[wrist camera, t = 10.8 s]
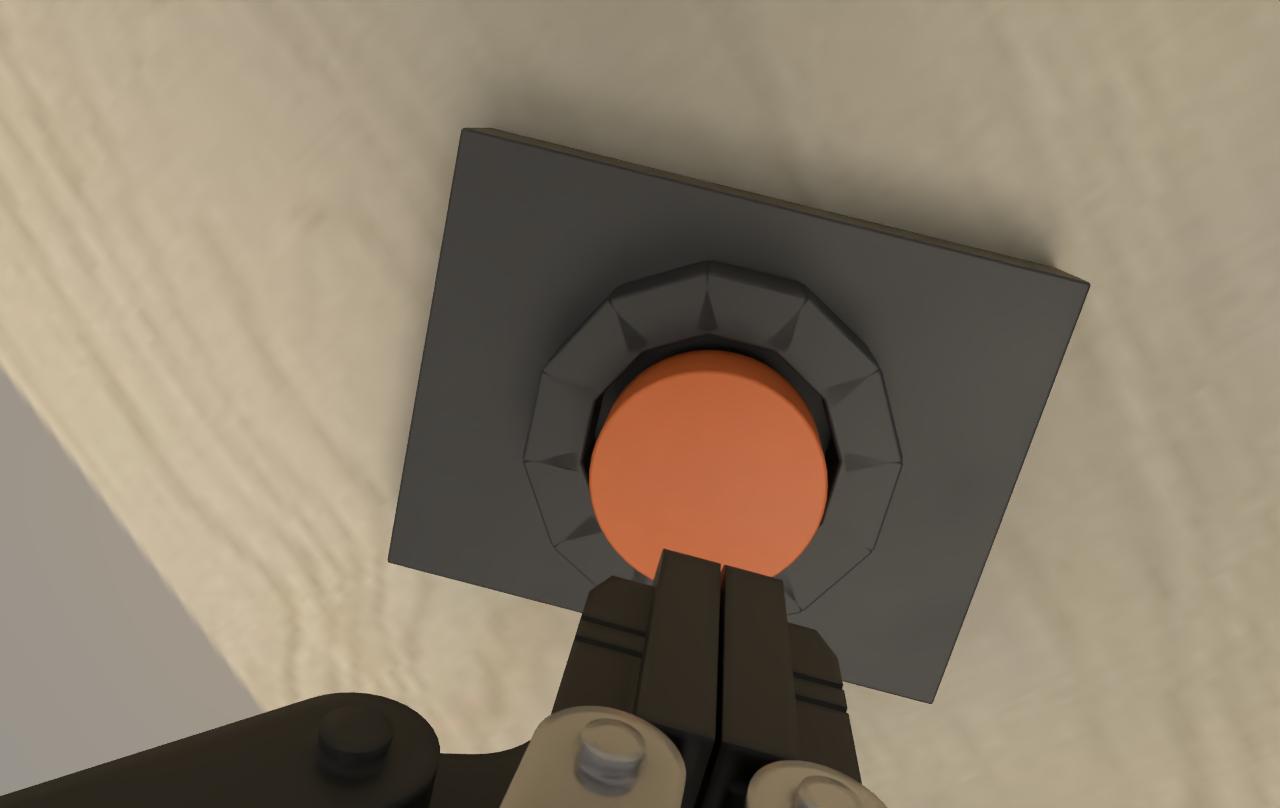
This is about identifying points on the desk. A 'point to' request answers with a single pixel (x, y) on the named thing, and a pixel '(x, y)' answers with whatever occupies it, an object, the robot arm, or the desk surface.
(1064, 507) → the desk surface
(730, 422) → the button
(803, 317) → the button housing
